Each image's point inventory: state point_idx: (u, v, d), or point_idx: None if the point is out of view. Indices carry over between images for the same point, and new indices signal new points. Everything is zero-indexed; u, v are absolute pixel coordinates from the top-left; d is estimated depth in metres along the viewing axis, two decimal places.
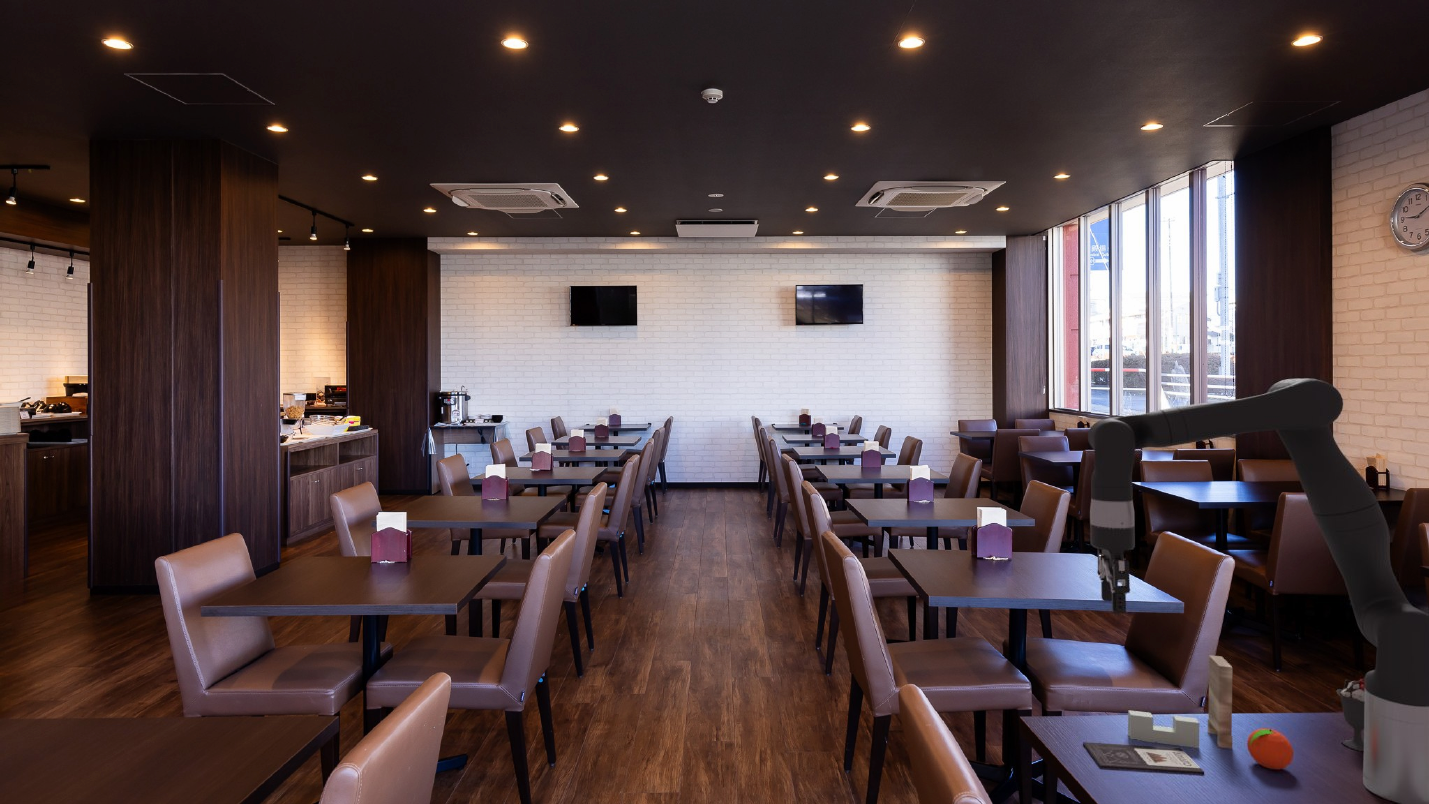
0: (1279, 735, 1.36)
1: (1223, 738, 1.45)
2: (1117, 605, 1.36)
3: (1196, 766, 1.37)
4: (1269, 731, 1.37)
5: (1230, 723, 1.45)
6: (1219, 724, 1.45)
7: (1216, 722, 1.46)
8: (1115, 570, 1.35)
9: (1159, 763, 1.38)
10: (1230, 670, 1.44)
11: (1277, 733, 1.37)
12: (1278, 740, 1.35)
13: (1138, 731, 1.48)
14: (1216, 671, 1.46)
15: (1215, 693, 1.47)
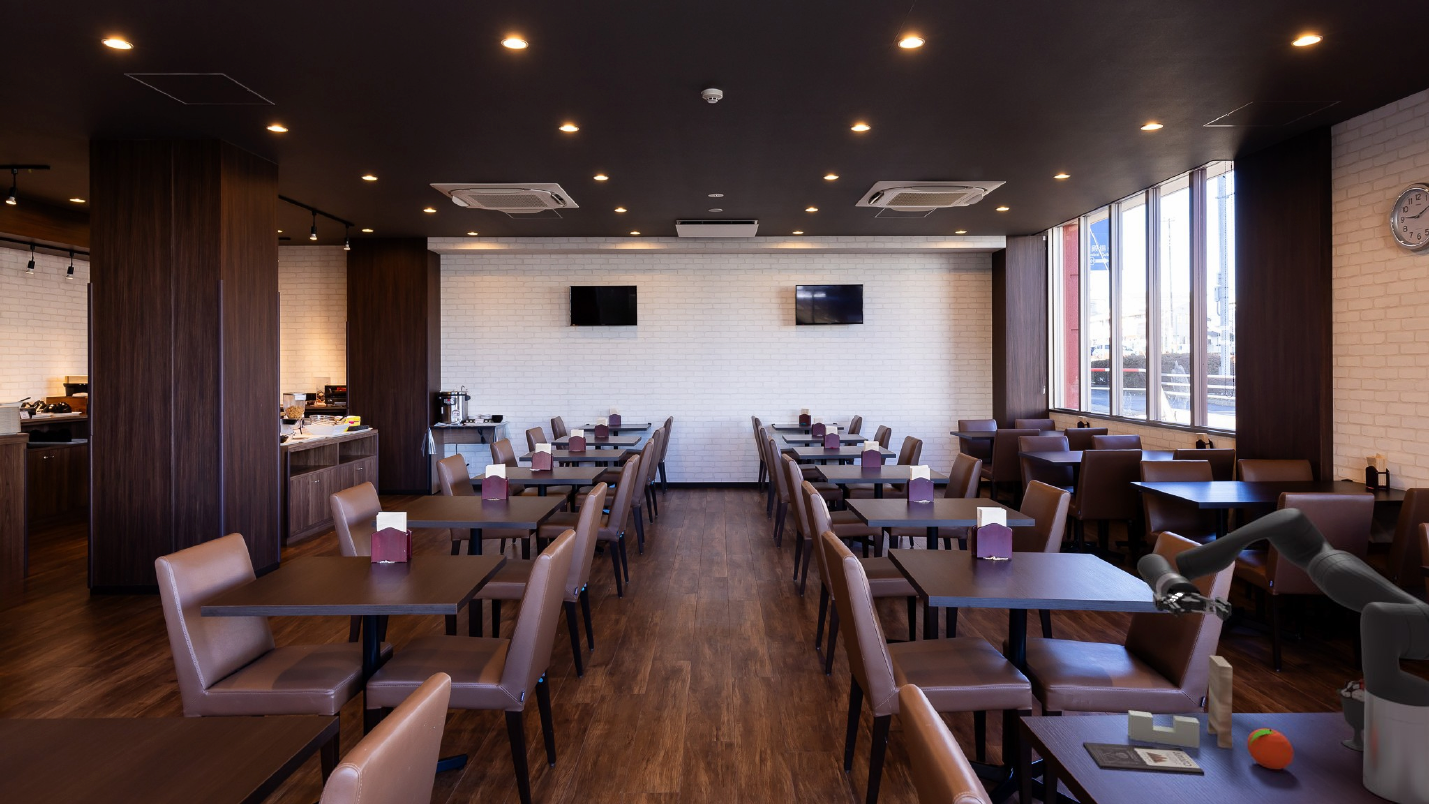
0: (1279, 735, 1.36)
1: (1223, 738, 1.45)
2: None
3: (1196, 766, 1.37)
4: (1269, 731, 1.37)
5: (1230, 723, 1.45)
6: (1219, 724, 1.45)
7: (1216, 722, 1.46)
8: None
9: (1159, 763, 1.38)
10: (1230, 670, 1.44)
11: (1277, 733, 1.37)
12: (1278, 740, 1.35)
13: (1138, 731, 1.48)
14: (1217, 671, 1.46)
15: (1215, 693, 1.47)
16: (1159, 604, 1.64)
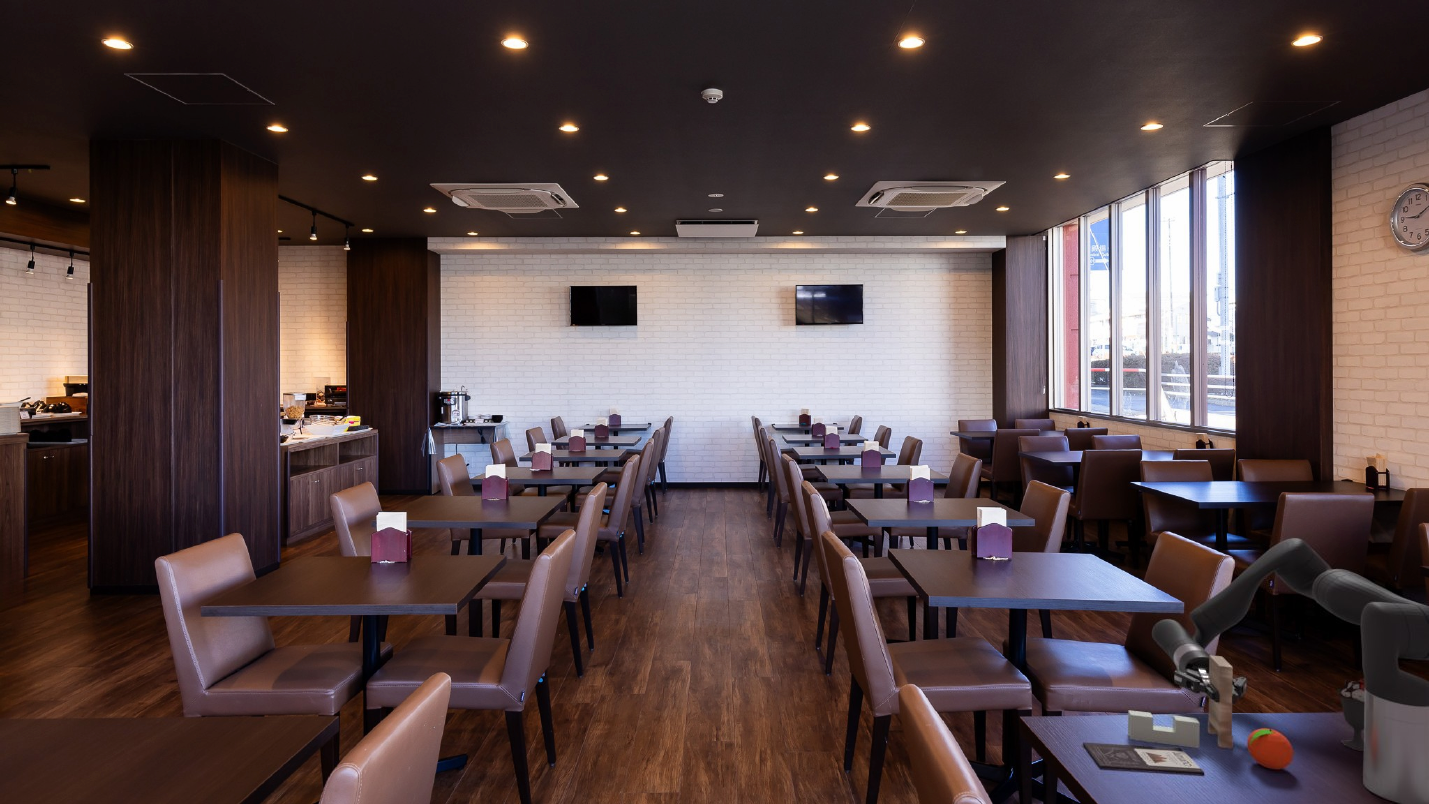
0: (1279, 735, 1.36)
1: (1224, 738, 1.45)
2: None
3: (1196, 766, 1.37)
4: (1269, 731, 1.37)
5: (1230, 723, 1.45)
6: (1220, 724, 1.45)
7: (1217, 722, 1.46)
8: (1244, 681, 1.50)
9: (1159, 764, 1.38)
10: (1230, 670, 1.44)
11: (1277, 733, 1.37)
12: (1278, 740, 1.35)
13: (1138, 731, 1.48)
14: (1217, 671, 1.46)
15: None
16: (1195, 686, 1.50)
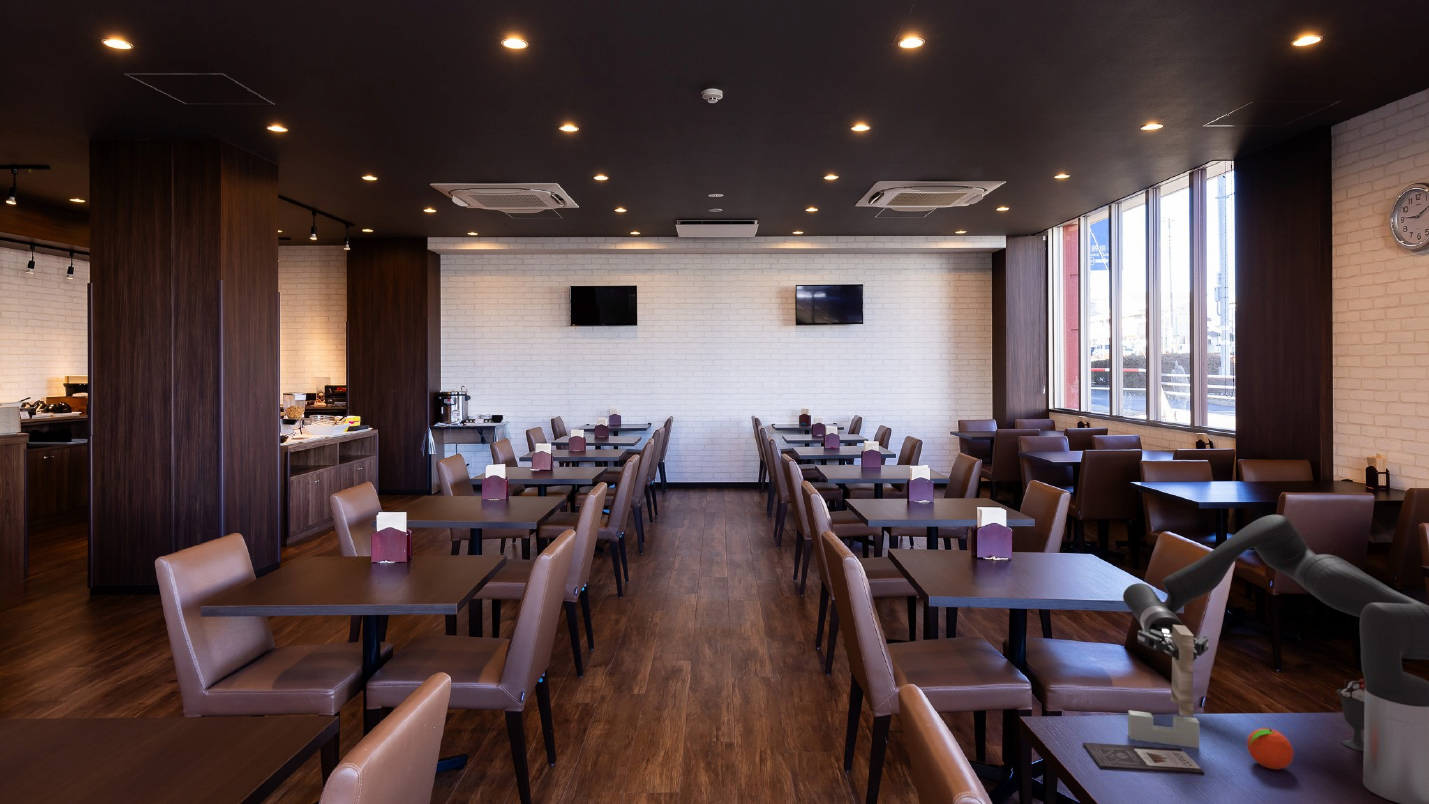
0: (1279, 735, 1.36)
1: (1184, 706, 1.45)
2: None
3: (1196, 766, 1.37)
4: (1269, 731, 1.37)
5: (1191, 691, 1.45)
6: (1181, 693, 1.45)
7: (1178, 691, 1.46)
8: (1206, 640, 1.51)
9: (1159, 764, 1.38)
10: (1191, 638, 1.44)
11: (1277, 733, 1.37)
12: (1278, 740, 1.35)
13: (1138, 731, 1.48)
14: (1178, 640, 1.46)
15: (1177, 662, 1.47)
16: (1157, 644, 1.51)
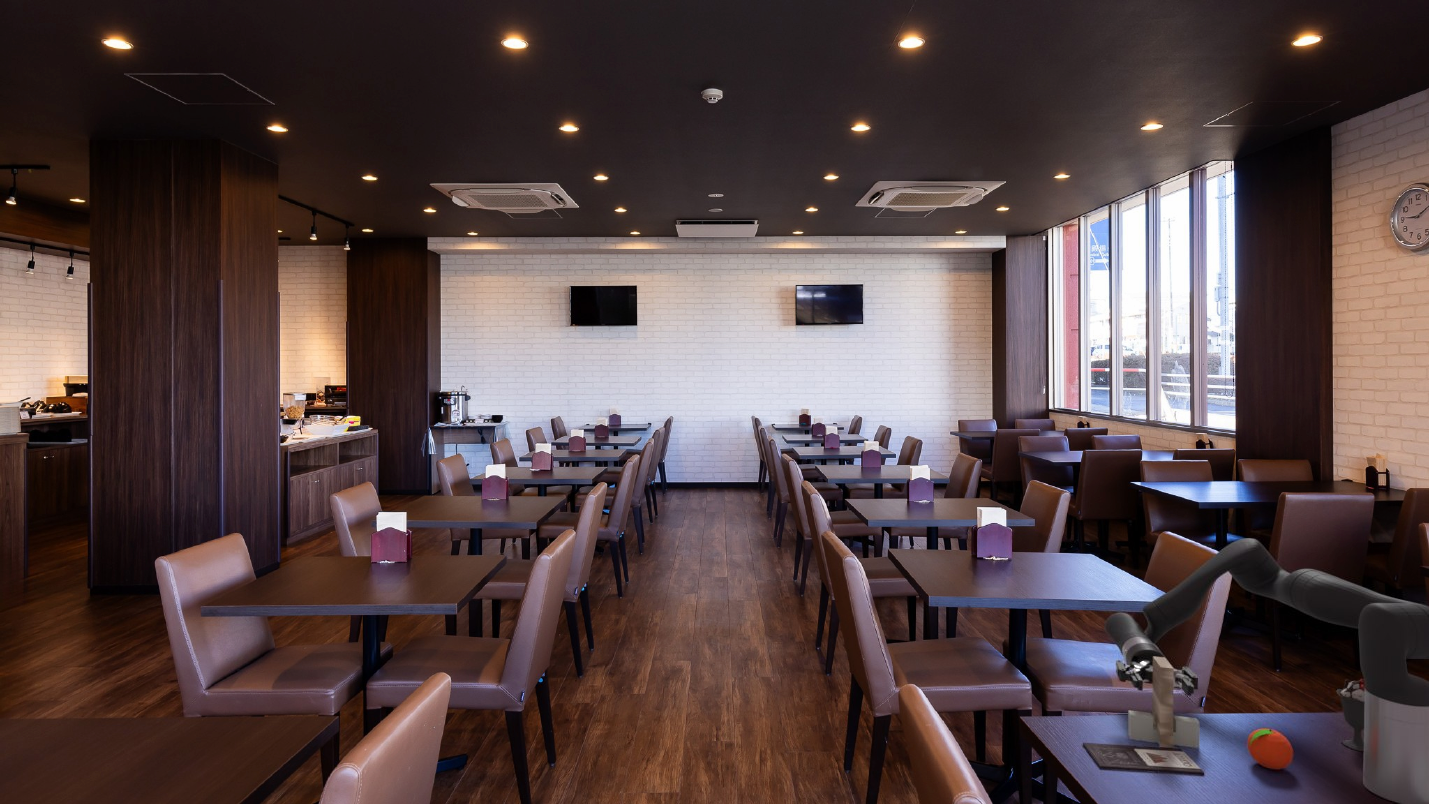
0: (1279, 735, 1.36)
1: (1165, 739, 1.44)
2: (1192, 686, 1.46)
3: (1196, 767, 1.37)
4: (1269, 731, 1.37)
5: (1171, 724, 1.44)
6: (1161, 726, 1.45)
7: (1158, 723, 1.46)
8: (1191, 671, 1.52)
9: (1159, 764, 1.38)
10: (1171, 671, 1.44)
11: (1277, 733, 1.37)
12: (1278, 740, 1.35)
13: (1138, 731, 1.48)
14: (1158, 672, 1.46)
15: (1158, 694, 1.46)
16: (1121, 674, 1.53)
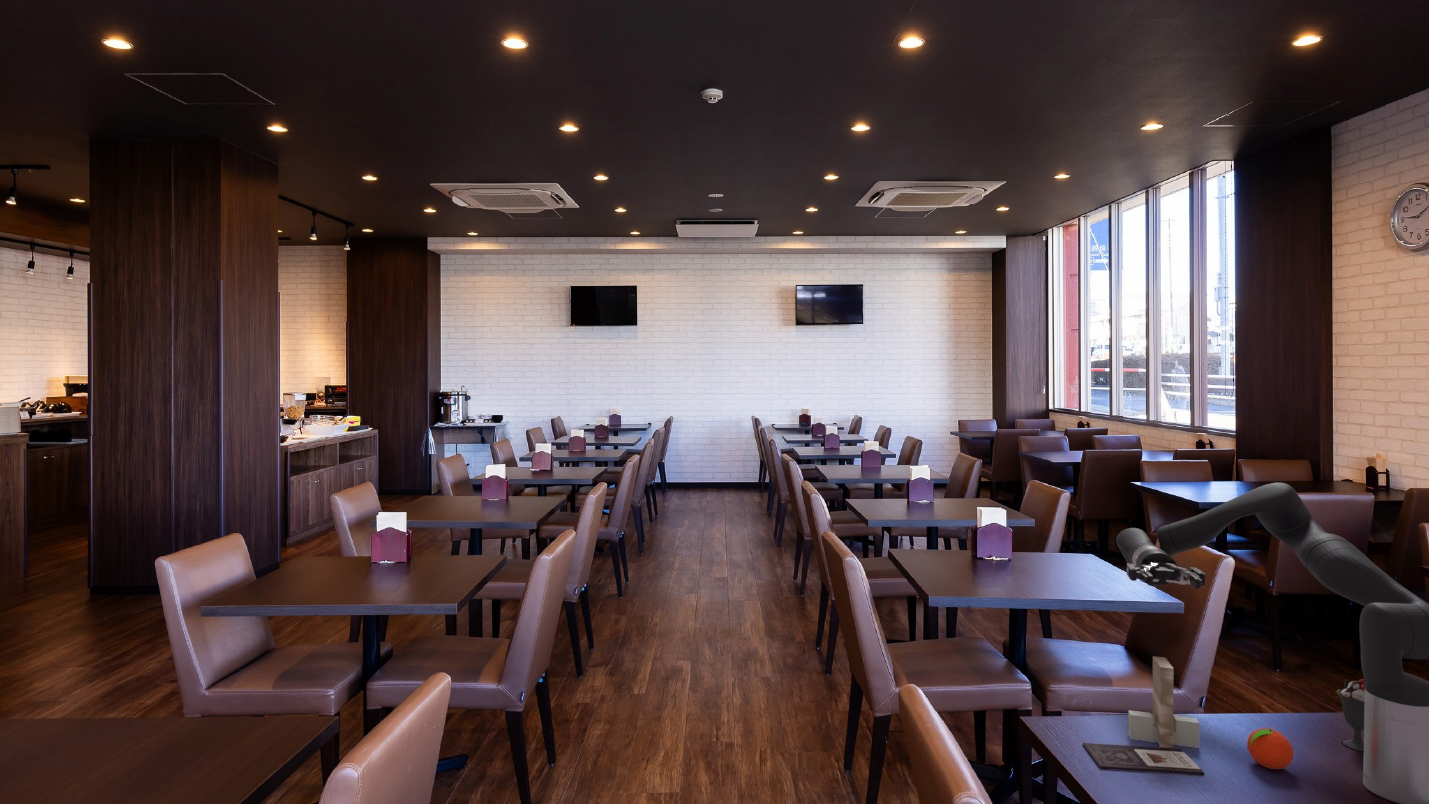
0: (1279, 735, 1.36)
1: (1165, 739, 1.44)
2: (1200, 580, 1.54)
3: (1196, 767, 1.37)
4: (1269, 731, 1.37)
5: (1171, 724, 1.44)
6: (1161, 726, 1.45)
7: (1158, 723, 1.46)
8: None
9: (1159, 764, 1.38)
10: (1171, 671, 1.44)
11: (1277, 733, 1.37)
12: (1278, 740, 1.35)
13: (1138, 731, 1.48)
14: (1158, 672, 1.46)
15: (1158, 694, 1.46)
16: (1132, 573, 1.61)
